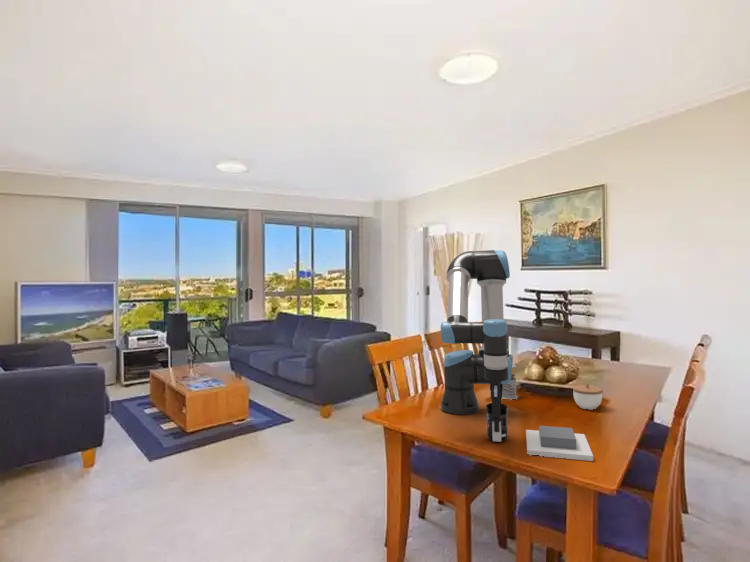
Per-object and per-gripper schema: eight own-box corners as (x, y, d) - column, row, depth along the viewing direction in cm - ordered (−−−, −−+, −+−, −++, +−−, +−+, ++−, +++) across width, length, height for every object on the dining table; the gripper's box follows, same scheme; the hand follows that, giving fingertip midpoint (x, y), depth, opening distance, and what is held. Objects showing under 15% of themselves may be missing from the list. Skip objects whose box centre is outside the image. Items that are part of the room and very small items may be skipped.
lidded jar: (606, 412, 173) (606, 387, 172) (576, 411, 175) (576, 387, 174) (598, 404, 183) (598, 381, 183) (570, 403, 185) (570, 380, 185)
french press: (518, 400, 191) (517, 342, 190) (490, 399, 194) (489, 341, 194) (518, 394, 200) (517, 338, 199) (492, 393, 204) (490, 338, 203)
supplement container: (499, 432, 152) (498, 401, 151) (512, 439, 145) (511, 407, 145) (482, 435, 149) (481, 404, 149) (495, 443, 143) (494, 410, 143)
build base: (527, 455, 135) (527, 440, 135) (526, 434, 152) (525, 420, 152) (593, 461, 129) (593, 445, 129) (584, 438, 146) (584, 424, 146)
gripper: (507, 374, 136) (508, 449, 137) (508, 361, 155) (509, 427, 156) (482, 373, 138) (483, 447, 139) (486, 360, 157) (487, 425, 158)
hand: (497, 436), depth 147 cm, fingers closed on supplement container, 7 cm apart
